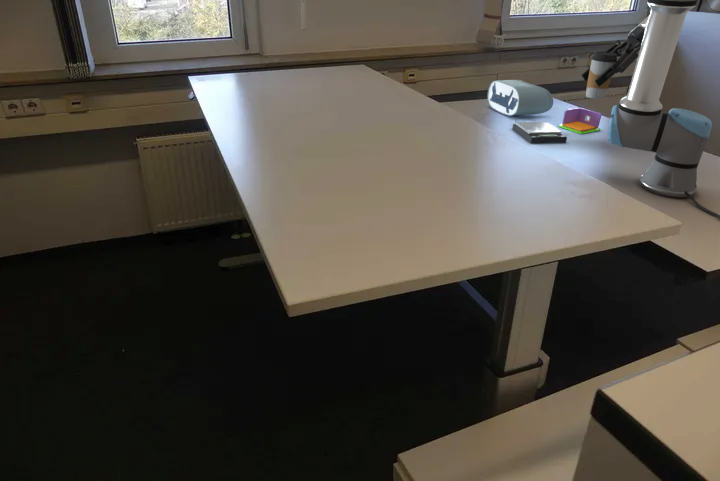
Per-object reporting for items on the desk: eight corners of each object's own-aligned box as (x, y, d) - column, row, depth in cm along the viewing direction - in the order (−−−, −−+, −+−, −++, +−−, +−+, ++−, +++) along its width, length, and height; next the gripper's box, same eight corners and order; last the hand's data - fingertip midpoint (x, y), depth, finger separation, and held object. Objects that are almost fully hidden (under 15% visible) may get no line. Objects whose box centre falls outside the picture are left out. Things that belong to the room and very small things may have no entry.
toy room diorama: (576, 122, 222) (579, 106, 218) (600, 130, 213) (605, 113, 210) (557, 126, 216) (560, 109, 213) (581, 134, 207) (586, 117, 204)
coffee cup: (609, 100, 186) (621, 56, 178) (584, 98, 187) (595, 54, 180) (604, 95, 193) (615, 52, 186) (580, 93, 194) (591, 50, 187)
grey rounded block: (485, 106, 238) (489, 77, 232) (519, 104, 245) (524, 75, 239) (515, 120, 221) (521, 89, 214) (551, 117, 227) (558, 87, 221)
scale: (565, 143, 197) (567, 134, 196) (530, 143, 195) (532, 135, 194) (545, 129, 212) (546, 121, 210) (512, 129, 210) (513, 121, 208)
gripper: (669, 47, 174) (611, 95, 179) (631, 37, 192) (580, 81, 198) (660, 29, 171) (601, 79, 176) (622, 21, 189) (570, 66, 194)
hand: (590, 80), depth 187 cm, fingers closed on coffee cup, 8 cm apart
